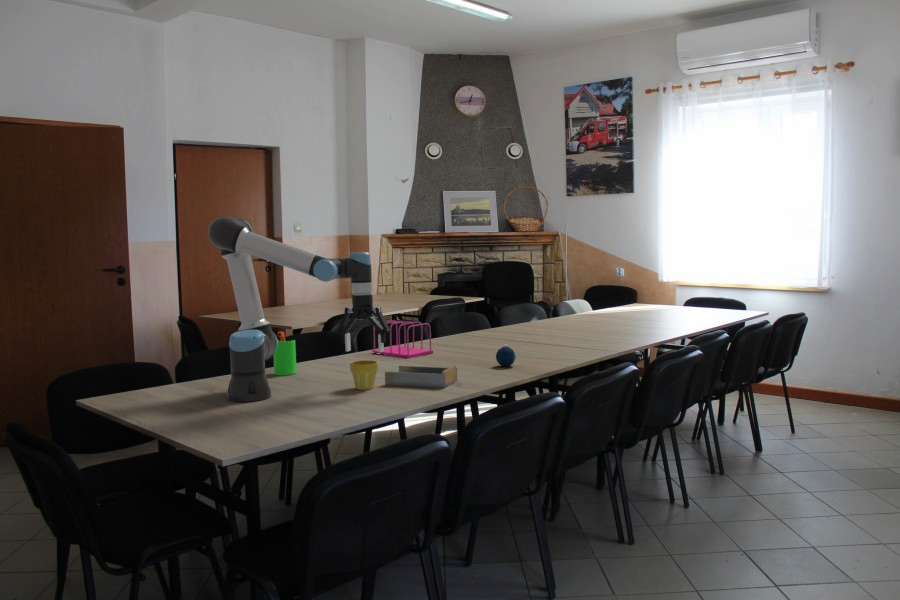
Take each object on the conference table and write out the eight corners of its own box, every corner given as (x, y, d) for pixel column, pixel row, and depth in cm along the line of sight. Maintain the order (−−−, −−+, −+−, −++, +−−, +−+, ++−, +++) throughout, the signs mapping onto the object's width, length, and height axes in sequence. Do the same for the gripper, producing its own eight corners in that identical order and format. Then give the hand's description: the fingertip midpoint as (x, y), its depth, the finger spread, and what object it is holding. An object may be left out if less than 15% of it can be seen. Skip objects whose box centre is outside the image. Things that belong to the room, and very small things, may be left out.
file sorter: (396, 349, 357) (396, 318, 356) (433, 353, 341) (432, 321, 340) (371, 354, 344) (370, 322, 343) (408, 358, 328) (407, 325, 327)
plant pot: (384, 386, 265) (383, 360, 264) (369, 391, 256) (368, 365, 255) (360, 384, 270) (359, 359, 269) (345, 389, 260) (344, 363, 259)
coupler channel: (444, 388, 259) (444, 372, 259) (385, 384, 268) (384, 369, 267) (457, 380, 273) (456, 365, 272) (400, 378, 281) (399, 363, 280)
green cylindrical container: (298, 372, 299) (296, 329, 297) (292, 375, 291) (290, 332, 289) (277, 372, 299) (275, 330, 298) (270, 375, 291) (269, 332, 290)
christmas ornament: (510, 368, 296) (509, 345, 296) (492, 367, 301) (492, 343, 300) (519, 365, 303) (518, 342, 303) (501, 364, 308) (501, 341, 307)
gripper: (397, 293, 259) (399, 350, 261) (336, 293, 268) (339, 349, 269) (388, 294, 252) (391, 353, 254) (327, 295, 260) (329, 352, 262)
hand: (364, 351), depth 262 cm, fingers open, 13 cm apart
